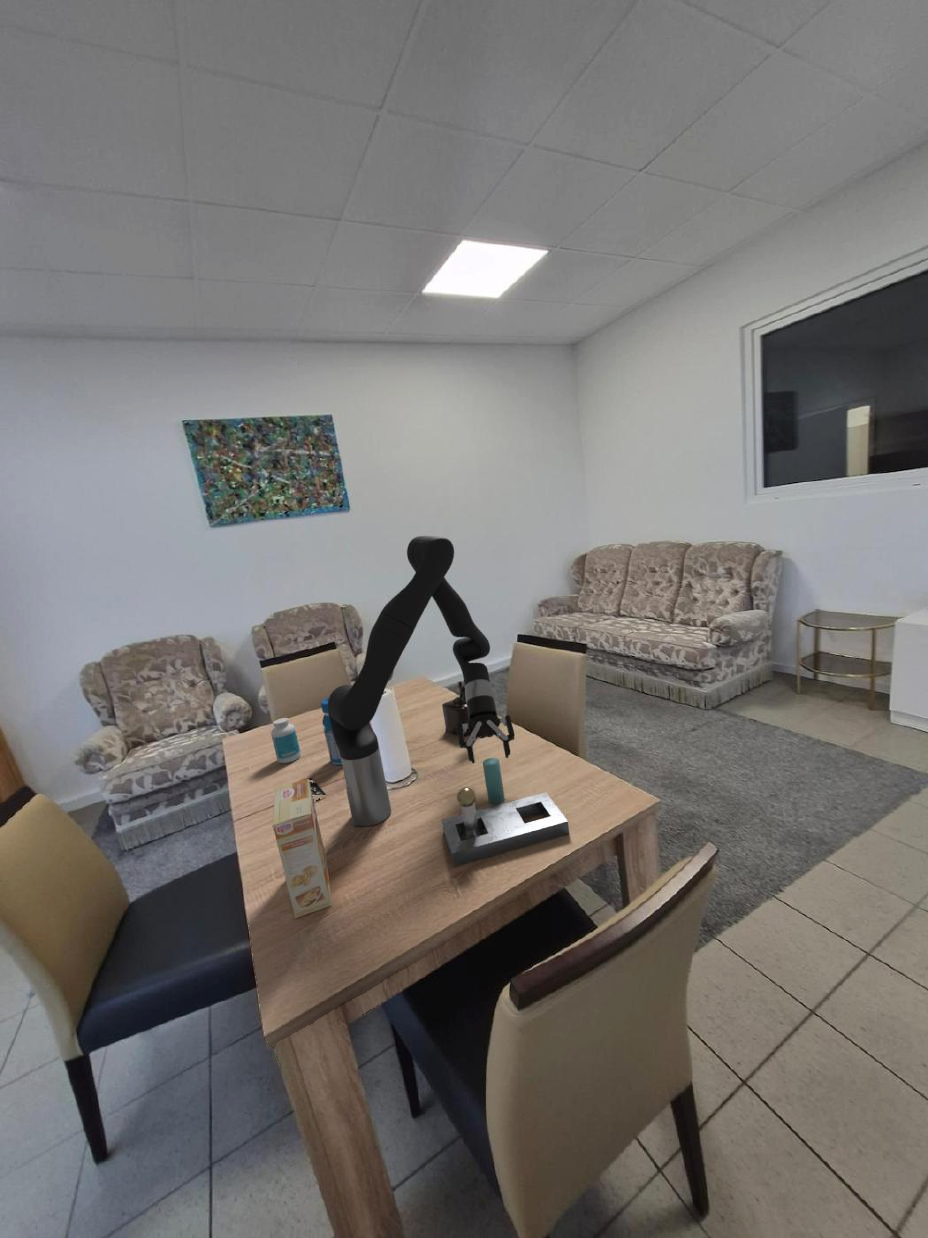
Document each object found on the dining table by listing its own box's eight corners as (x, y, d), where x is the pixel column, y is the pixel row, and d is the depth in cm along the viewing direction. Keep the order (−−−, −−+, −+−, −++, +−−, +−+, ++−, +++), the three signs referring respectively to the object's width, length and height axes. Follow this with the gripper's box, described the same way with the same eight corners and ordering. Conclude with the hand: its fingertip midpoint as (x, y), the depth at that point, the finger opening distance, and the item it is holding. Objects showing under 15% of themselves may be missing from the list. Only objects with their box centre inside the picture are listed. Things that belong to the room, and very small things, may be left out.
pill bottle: (306, 755, 158) (297, 717, 156) (287, 765, 152) (278, 726, 150) (291, 752, 162) (283, 714, 160) (273, 762, 156) (263, 724, 154)
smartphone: (311, 777, 142) (327, 796, 129) (311, 779, 142) (328, 798, 129) (285, 787, 138) (300, 808, 125) (286, 789, 138) (301, 810, 125)
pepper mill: (443, 730, 161) (435, 680, 158) (468, 719, 168) (461, 670, 164) (472, 742, 149) (464, 688, 146) (498, 729, 156) (490, 677, 152)
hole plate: (454, 866, 95) (444, 811, 93) (443, 831, 107) (435, 781, 105) (569, 834, 100) (563, 780, 98) (547, 803, 112) (541, 754, 109)
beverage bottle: (337, 768, 145) (324, 707, 141) (325, 761, 151) (313, 702, 148) (362, 757, 150) (350, 697, 147) (349, 750, 157) (337, 693, 153)
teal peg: (490, 806, 114) (485, 767, 112) (486, 797, 118) (480, 760, 116) (506, 801, 115) (501, 763, 113) (501, 793, 119) (496, 756, 117)
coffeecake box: (333, 906, 90) (311, 813, 86) (293, 920, 88) (270, 826, 84) (328, 858, 104) (309, 777, 100) (294, 870, 102) (274, 787, 98)
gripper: (452, 698, 124) (460, 759, 115) (506, 690, 125) (518, 750, 116) (455, 710, 131) (463, 768, 122) (506, 702, 131) (518, 760, 122)
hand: (490, 759), depth 119 cm, fingers open, 8 cm apart
